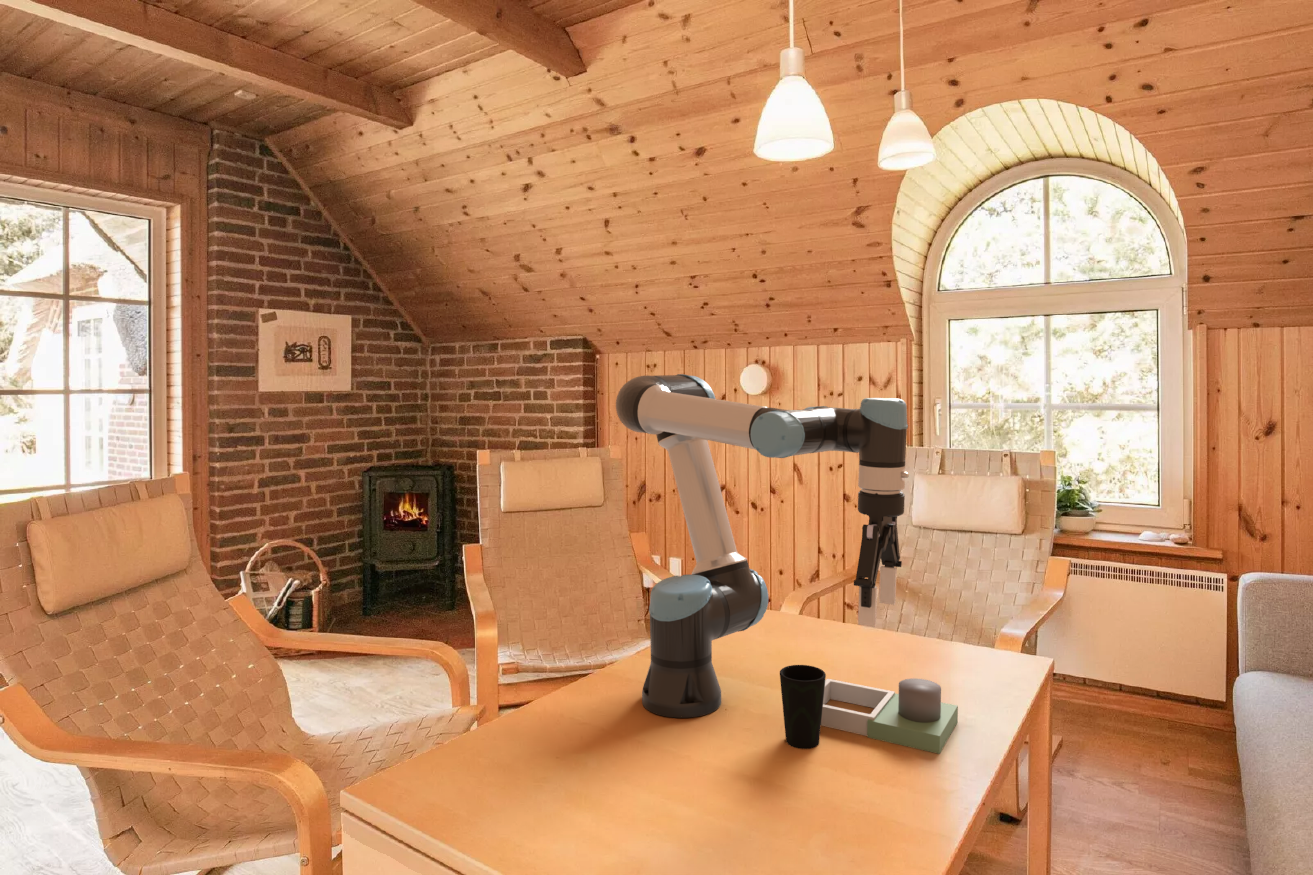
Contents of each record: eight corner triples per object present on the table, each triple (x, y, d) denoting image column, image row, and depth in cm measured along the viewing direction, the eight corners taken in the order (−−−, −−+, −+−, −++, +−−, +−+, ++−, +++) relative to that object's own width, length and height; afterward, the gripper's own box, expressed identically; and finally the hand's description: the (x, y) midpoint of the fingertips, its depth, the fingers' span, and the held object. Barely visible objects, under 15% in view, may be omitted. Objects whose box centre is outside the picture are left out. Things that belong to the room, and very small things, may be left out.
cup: (825, 753, 133) (825, 682, 132) (778, 750, 135) (778, 679, 134) (825, 733, 140) (825, 665, 140) (780, 729, 142) (780, 663, 141)
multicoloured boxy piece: (801, 722, 145) (801, 678, 144) (828, 695, 157) (828, 655, 156) (939, 753, 132) (940, 706, 132) (957, 721, 144) (958, 678, 144)
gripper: (885, 503, 123) (881, 639, 125) (919, 482, 144) (915, 598, 146) (837, 499, 126) (833, 631, 128) (877, 479, 148) (874, 592, 150)
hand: (877, 614), depth 137 cm, fingers open, 13 cm apart
